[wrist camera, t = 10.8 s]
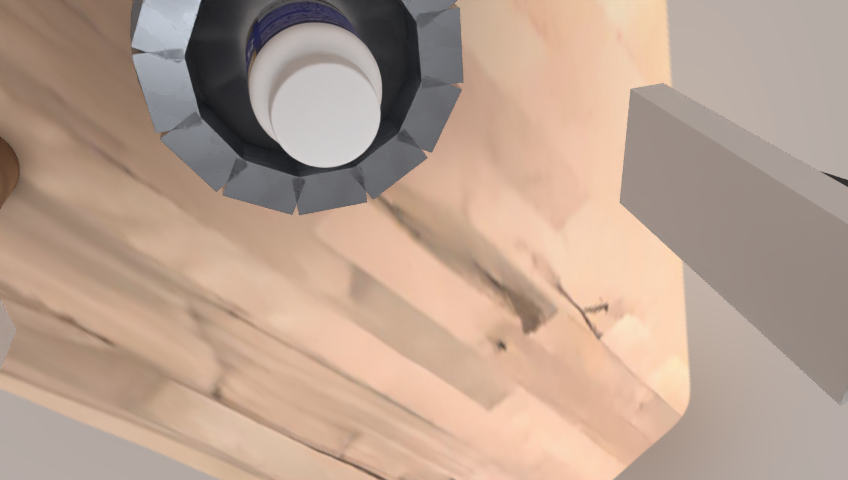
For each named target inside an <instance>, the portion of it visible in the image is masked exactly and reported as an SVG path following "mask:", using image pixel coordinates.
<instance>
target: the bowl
mask: <svg viewBox="0 0 848 480" xmlns="http://www.w3.org/2000/svg"><path fill="white" fill-rule="evenodd" d="M274 1H276V0H134V1H133V7H132V12H131V47H132V59H133V62H134V65H135V69H136V73H137V77H138V81H139V83H140V86H141V88H142V91H143V94H144V97H145V100H146V103H147V106H148V110H149V113H150V116H151V119H152V122H153V126H154V129H155V132H156V133H158V132H162V133H161V137H160V140H161V141H162V142H163V143H164V144H165V145H167V146H168V147H169V148H170V149H171V150H172V151H173V152H174V153H175V154H176V155H177V156H178V157H179V158H180V159H182V160H183V161H184V162H185V163H186V164H187V165H188V166H189V167H190V168H191V169H192V170H193V171H194V172H195V173H197V174H198V175H199V176H200V177H201V178H202V179H203V180H204V181H205V182H206V183H207V184H208V185H209V186H210V187H212V188H213V189H214V190H215V191H216V192H217V191H218V190H219V189H220V188H222V187H223V196H226V197H230V198H234V199H237V200H241V201H244V202H248V203H252V204H255V205H259V206H262V207H266V208H269V209H273V210H277V211H280V212H284V213H287V214H291V215H292V214H293V212H294V209H295V207H296V204H297V207H298V212H299V215H303V214H308V213H313V212H318V211H324V210H329V209H334V208H339V207H344V206H350V205H355V204H360V203H365V202H367V198H366V192H367V193H368V194H369V195H370V196H371V197H372V198H373V199H374V198H376V197H377V196H378V195H380V194H381V193H382V192H384V191H385V190H386V189H388V188H389V187H390V186H391V185H393V184H394V183H395V182H397V181H398V180H399V179H401V178H402V177H403V176H405V175H406V174H407V173H408V172H410V171H411V170H412V169H414V168H415V167H416V166H418V165H419V164H420V163H422V162H423V161H424V160H425V159H427V156H426V155H425V153H424V152H423V150H426V151H429V152H431V153H432V151H433V149H434V147H435V145H436V143H437V141H438V139H439V137H440V134H441V132H442V130H443V128H444V126H445V124H446V122H447V120H448V118H449V115H450V113H451V111H452V109H453V107H454V105H455V103H456V101H457V99H458V96H459V94H460V92H461V90H462V89H461V88H460V87H459V86H458V85H457V84H456V83H462V82H463V66H462V46H461V26H460V8H459V7H458V6H456V5H455V4H454V3H455V2H456V1H457V0H325V1H327V2H329V3H331V4H332V5H334V6H335V7H337V8H338V9H339V10H340V11H341V12H342V13H343V14H344V15H345V16H346V17H347V18H348V20H349V21H350V22H351V24H352V25H353V27H354V28H355V30H356V31H357V33H358V34H359V35H360V37H361V38H362V40H363V41H364V43H365V44H366V45H367V47H368V48H369V50H370V51H371V53H372V55H373V57H374V59H375V61H376V63H377V65H378V68H379V71H380V75H381V81H382V100H381V105H380V111H381V115H380V124H379V128H378V131H377V134H376V136H375V138H374V140H373V142H372V143H371V145H370V146H369V147H368V149H367V150H366V151H365V152H364V153H362V154H361V155H360V156H359V157H357V158H356V159H354V160H352V161H351V162H348V163H346V164H343V165H340V166H336V167H327V168H322V167H314V166H309V165H307V164H304V163H302V162H300V161H298V160H296V159H294V158H293V157H291V156H290V155H289V154H288V153H287V152H286V151H285V150H284V149H283V148H282V147H281V145H280V144H279V143H278V142H276V141H275V140H274V139H273V138H271V137H270V136H269V135H268V134H267V133H266V131H265V130H264V129H263V128H262V126H261V125H260V123H259V122H258V120H257V118H256V116H255V114H254V111H253V108H252V105H251V101H250V96H249V87H248V80H247V68H246V58H245V43H246V38H247V34H248V31H249V28H250V26H251V24H252V22H253V21H254V19H255V18H256V17H257V15H258V14H259V13H260V12H261V11H262V10H263V9H264V8H265V7H266V6H268V5H269V4H271V3H272V2H274ZM422 149H423V150H422Z"/></svg>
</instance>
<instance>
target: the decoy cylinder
mask: <svg viewBox="0 0 848 480" xmlns="http://www.w3.org/2000/svg"><path fill="white" fill-rule="evenodd" d="M18 179H19V163H18V160H17V157H16V155H15V153H14V151H13V150H12V148H11V147H10V146H9V145H8V143H6V142H5V141H4V140H3V139H2V138H1V137H0V208H1V207H2V205H3V204H4V202H5V201H6V199H7V198H8V196H9V195H10V193H11V192H12V190H13V189H14V188H15V186H16V184H17V182H18Z"/></svg>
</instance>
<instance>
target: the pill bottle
mask: <svg viewBox="0 0 848 480" xmlns="http://www.w3.org/2000/svg"><path fill="white" fill-rule="evenodd" d="M245 58H246V68H247V80H248V87H249V96H250V101H251V105H252V108H253V111H254V114H255V116H256V118H257V120H258V122H259V123H260V125H261V126H262V128H263V129H264V130H265V131H266V133H267V134H268V135H269V136H270V137H271V138H273V139H274V140H275V141H276V142H278V143H279V144H280V145H281V147H282V148H283V149H284V150H285V151H286V152H287V153H288V154H289V155H290V156H291V157H293V158H294V159H296V160H298V161H300V162H302V163H304V164H307V165H309V166H314V167H322V168H327V167H336V166H340V165H343V164H346V163H348V162H351V161H352V160H354V159H356V158H357V157H359V156H360V155H361V154H362V153H364V152H365V151H366V150H367V149H368V147H369V146H370V145H371V143H372V142H373V140H374V138H375V136H376V134H377V131H378V128H379V124H380V115H381V111H380V105H381V100H382V81H381V75H380V71H379V68H378V65H377V63H376V61H375V59H374V57H373V55H372V53H371V51H370V50H369V48H368V47H367V45H366V44H365V43H364V41H363V40H362V38H361V37H360V35H359V34H358V33H357V31H356V30H355V28H354V27H353V25H352V24H351V22H350V21H349V20H348V18H347V17H346V16H345V15H344V14H343V13H342V12H341V11H340V10H339V9H338V8H337V7H335V6H334V5H332V4H331V3H329V2H327V1H325V0H276V1H274V2H272V3H271V4H269V5H268V6H266V7H265V8H264V9H263V10H262V11H261V12H260V13H259V14H258V15H257V17H256V18H255V19H254V21H253V22H252V24H251V26H250V28H249V31H248V34H247V38H246V43H245Z"/></svg>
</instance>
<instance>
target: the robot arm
mask: <svg viewBox="0 0 848 480" xmlns="http://www.w3.org/2000/svg"><path fill="white" fill-rule="evenodd" d="M620 203H621V204H622V205H623V206H624V207H625V208H626V209H627V210H628V211H629V212H631V213H632V214H633V215H634V216H635V217H636V218H637V219H638V220H639V221H640V222H641V223H642V224H644V225H645V226H646V227H647V228H648V229H649V230H650V231H651V232H652V233H653V234H654V235H656V236H657V237H658V238H659V239H660V240H661V241H662V242H663V243H664V244H665V245H666V246H667V247H669V248H670V249H671V250H672V251H673V252H674V253H675V254H676V255H677V256H678V257H679V258H681V259H682V260H683V261H684V262H685V263H686V264H687V265H688V266H689V267H690V268H691V269H693V270H694V271H695V272H696V273H697V274H698V275H699V276H700V277H701V278H702V279H703V280H705V282H707V283H708V284H709V285H710V286H711V287H712V288H713V289H714V290H715V291H716V292H718V293H719V294H720V295H721V296H722V297H723V298H724V299H725V300H726V301H727V302H728V303H729V304H730V305H732V306H733V307H734V308H735V309H736V310H737V311H738V312H739V313H740V314H741V315H743V316H744V317H745V318H746V319H747V320H748V321H749V322H750V323H751V324H752V325H753V326H754V327H756V328H757V329H758V330H759V331H760V332H761V333H762V334H763V335H764V336H765V337H766V338H768V339H769V340H770V341H771V342H772V343H773V344H774V345H775V346H776V347H777V348H778V349H779V350H781V351H782V352H783V353H784V354H785V355H786V356H787V357H788V358H789V359H790V360H791V361H793V362H794V363H795V364H796V365H797V366H798V367H799V368H800V369H801V370H802V371H803V372H804V373H806V374H807V375H808V376H809V377H810V378H811V379H812V380H813V381H814V382H815V383H816V384H817V385H818V386H820V387H821V388H822V389H823V390H824V391H825V392H826V393H827V394H828V395H829V396H830V397H832V398H833V399H834V400H835V401H836V402H837V403H838V404H839V405H843V404H846V403H848V180H846V179H843V178H840V177H836V176H833V175H831V174H827V173H824V172H821V171H818V170H817V169H815V168H813V167H811V166H810V165H808V164H806V163H804V162H802V161H801V160H799V159H797V158H795V157H794V156H791V155H790V154H788V153H786V152H784V151H783V150H781V149H779V148H777V147H776V146H774V145H772V144H770V143H769V142H767V141H765V140H763V139H762V138H760V137H758V136H756V135H754V134H753V133H751V132H749V131H747V130H746V129H744V128H742V127H740V126H739V125H737V124H735V123H733V122H731V121H730V120H728V119H726V118H724V117H723V116H721V115H719V114H717V113H715V112H714V111H712V110H710V109H708V108H707V107H705V106H703V105H701V104H699V103H698V102H696V101H694V100H692V99H691V98H689V97H687V96H685V95H683V94H682V93H680V92H678V91H676V90H675V89H673V88H671V87H669V86H668V85H666V84H664V83H661V84H656V85H650V86H644V87H639V88H633V89H631V91H630V101H629V111H628V122H627V132H626V142H625V153H624V163H623V173H622V184H621V194H620ZM16 330H17V329H16V327H15V326H14V324H13V322H12V320H11V318H10V316H9V314H8V312H7V311H6V309H5V307H4V305H3V303H2V301H1V299H0V370H1V367H2V365H3V362H4V360H5V357H6V355H7V352H8V350H9V347H10V345H11V343H12V340H13V338H14V335H15V333H16Z"/></svg>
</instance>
